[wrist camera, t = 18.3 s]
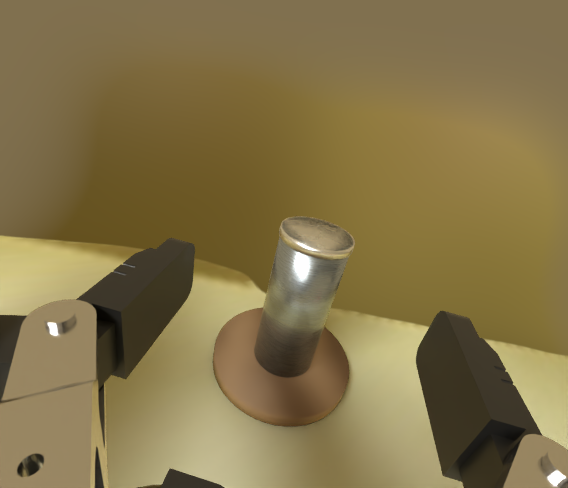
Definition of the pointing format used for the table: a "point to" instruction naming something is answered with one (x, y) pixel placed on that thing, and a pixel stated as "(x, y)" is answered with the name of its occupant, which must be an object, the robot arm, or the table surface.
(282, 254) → the grey can
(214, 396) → the table surface
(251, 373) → the disc
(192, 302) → the table surface
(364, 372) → the table surface
